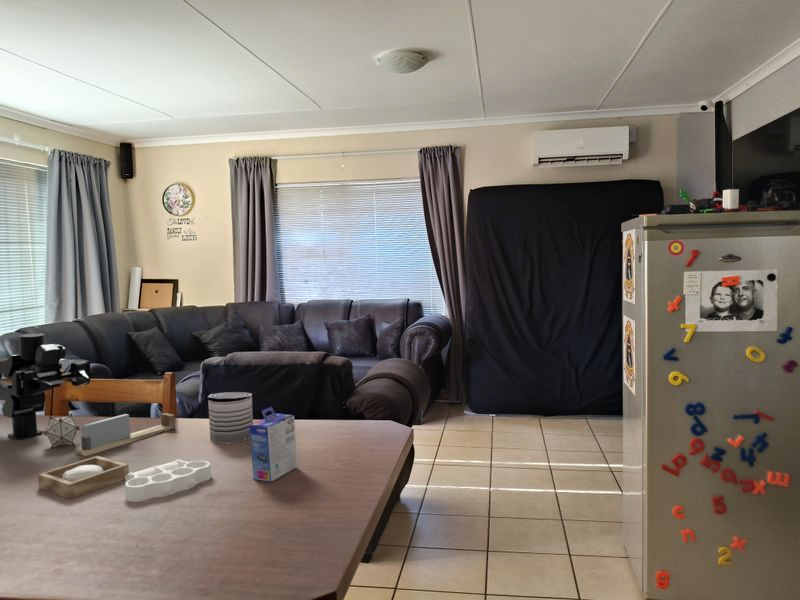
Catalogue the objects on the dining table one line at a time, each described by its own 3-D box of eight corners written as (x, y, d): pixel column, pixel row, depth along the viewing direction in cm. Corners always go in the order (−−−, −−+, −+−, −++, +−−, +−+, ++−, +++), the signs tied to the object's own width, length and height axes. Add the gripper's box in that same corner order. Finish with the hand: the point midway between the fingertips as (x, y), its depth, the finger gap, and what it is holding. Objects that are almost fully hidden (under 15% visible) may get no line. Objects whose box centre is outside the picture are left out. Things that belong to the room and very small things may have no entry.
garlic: (59, 493, 122) (58, 475, 122) (64, 481, 129) (63, 465, 128) (102, 486, 125) (101, 469, 125) (105, 475, 132) (104, 459, 131)
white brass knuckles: (190, 467, 137) (222, 482, 126) (109, 490, 123) (138, 510, 113) (189, 452, 136) (222, 467, 126) (108, 475, 123) (138, 493, 113)
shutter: (81, 448, 147) (80, 425, 146) (126, 435, 157) (124, 413, 157) (87, 450, 146) (85, 426, 145) (131, 436, 156) (130, 414, 155)
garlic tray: (39, 488, 125) (38, 474, 125) (97, 468, 136) (96, 455, 136) (70, 499, 118) (69, 484, 118) (129, 477, 129) (128, 464, 129)
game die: (67, 460, 153) (64, 437, 147) (36, 450, 153) (32, 425, 147) (88, 435, 160) (86, 411, 154) (58, 424, 160) (56, 400, 154)
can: (200, 440, 155) (198, 395, 154) (233, 428, 165) (231, 386, 164) (230, 446, 149) (228, 400, 148) (263, 434, 159) (261, 390, 158)
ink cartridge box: (278, 464, 136) (276, 402, 135) (298, 467, 133) (296, 404, 132) (250, 479, 127) (247, 413, 126) (271, 483, 124) (268, 416, 123)
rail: (76, 453, 147) (75, 438, 146) (166, 426, 169) (165, 412, 168) (85, 456, 144) (84, 440, 144) (175, 428, 167) (174, 414, 166)
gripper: (-1, 348, 148) (30, 357, 140) (73, 339, 164) (105, 347, 156) (0, 391, 149) (31, 403, 141) (73, 378, 165) (105, 388, 157)
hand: (70, 383), depth 149 cm, fingers open, 9 cm apart
